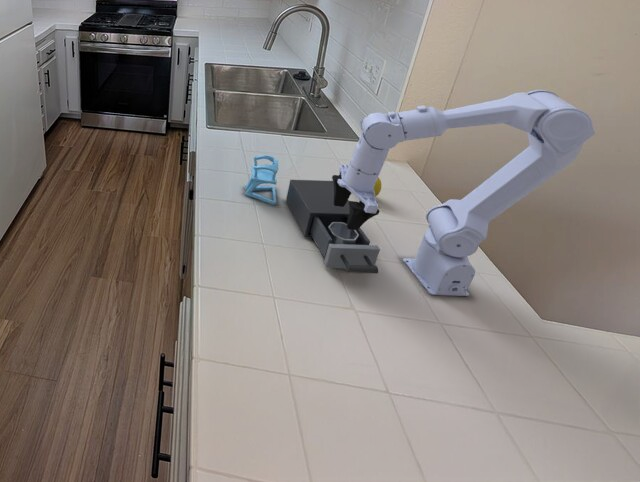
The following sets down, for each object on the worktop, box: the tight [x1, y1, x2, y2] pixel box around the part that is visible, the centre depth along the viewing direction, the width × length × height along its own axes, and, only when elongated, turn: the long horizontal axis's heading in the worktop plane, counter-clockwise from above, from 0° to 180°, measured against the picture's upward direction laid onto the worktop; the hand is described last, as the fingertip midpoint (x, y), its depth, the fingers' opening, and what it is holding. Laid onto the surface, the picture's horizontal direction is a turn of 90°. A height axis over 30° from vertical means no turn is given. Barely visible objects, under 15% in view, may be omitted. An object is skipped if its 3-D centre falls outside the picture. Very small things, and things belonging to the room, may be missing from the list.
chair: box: [244, 154, 279, 206], centre depth 108 cm, size 8×8×12 cm
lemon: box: [374, 177, 382, 198], centre depth 108 cm, size 6×6×8 cm
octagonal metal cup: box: [327, 222, 359, 245], centre depth 88 cm, size 6×6×5 cm
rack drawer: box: [309, 215, 381, 274], centre depth 87 cm, size 17×10×6 cm, turn 178°
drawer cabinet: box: [285, 179, 350, 239], centre depth 99 cm, size 14×12×8 cm
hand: (345, 216), depth 87 cm, fingers open, 7 cm apart
